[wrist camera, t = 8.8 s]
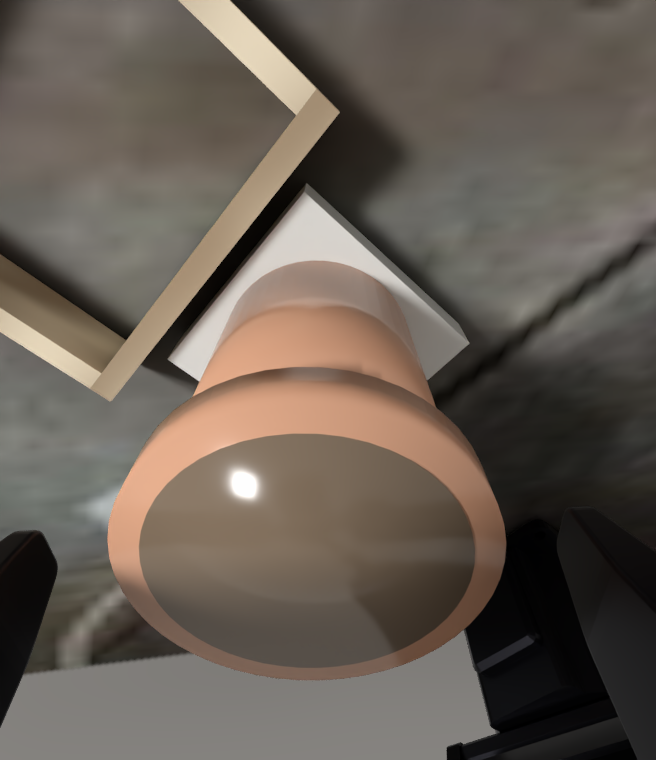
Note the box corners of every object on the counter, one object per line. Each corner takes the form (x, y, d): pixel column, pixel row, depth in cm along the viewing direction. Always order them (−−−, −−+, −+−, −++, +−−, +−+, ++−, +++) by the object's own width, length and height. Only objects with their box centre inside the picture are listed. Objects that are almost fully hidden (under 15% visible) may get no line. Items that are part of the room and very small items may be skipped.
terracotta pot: (467, 344, 15) (590, 560, 8) (326, 468, 17) (324, 719, 10) (305, 194, 13) (277, 309, 6) (169, 359, 15) (34, 580, 8)
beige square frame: (338, 110, 13) (339, 112, 11) (135, 367, 17) (110, 401, 15) (-53, -289, 10) (-145, -381, 8) (-197, 146, 14) (-281, 154, 12)
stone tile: (458, 323, 16) (469, 343, 15) (326, 442, 19) (326, 469, 17) (306, 183, 14) (304, 191, 13) (179, 338, 17) (167, 359, 15)
